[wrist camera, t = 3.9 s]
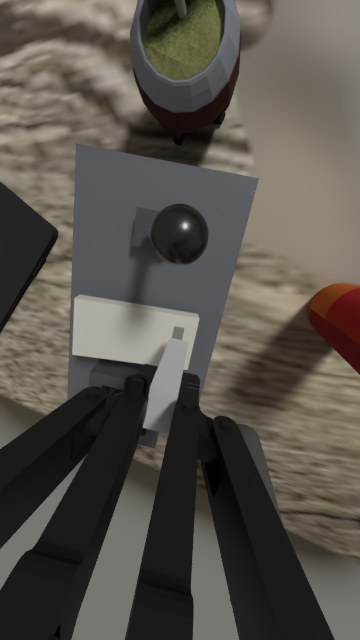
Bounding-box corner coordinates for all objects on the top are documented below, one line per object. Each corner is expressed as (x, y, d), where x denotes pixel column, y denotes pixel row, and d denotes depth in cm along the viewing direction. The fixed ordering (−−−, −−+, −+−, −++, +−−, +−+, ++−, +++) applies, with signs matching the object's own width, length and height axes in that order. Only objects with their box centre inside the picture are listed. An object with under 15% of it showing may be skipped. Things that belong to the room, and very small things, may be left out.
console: (247, 191, 22) (267, 168, 15) (190, 411, 31) (186, 462, 24) (103, 163, 22) (56, 128, 15) (88, 387, 31) (53, 430, 24)
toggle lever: (171, 216, 17) (224, 209, 9) (166, 250, 18) (209, 274, 9) (138, 208, 16) (160, 193, 8) (134, 244, 17) (149, 265, 9)
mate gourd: (210, 165, 22) (218, 22, 7) (131, 129, 21) (-15, -90, 7) (249, 66, 19) (372, -429, 5) (160, 24, 19) (24, -626, 5)
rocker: (197, 313, 20) (200, 319, 19) (186, 363, 22) (187, 371, 21) (79, 294, 19) (73, 298, 18) (77, 348, 21) (71, 355, 20)
